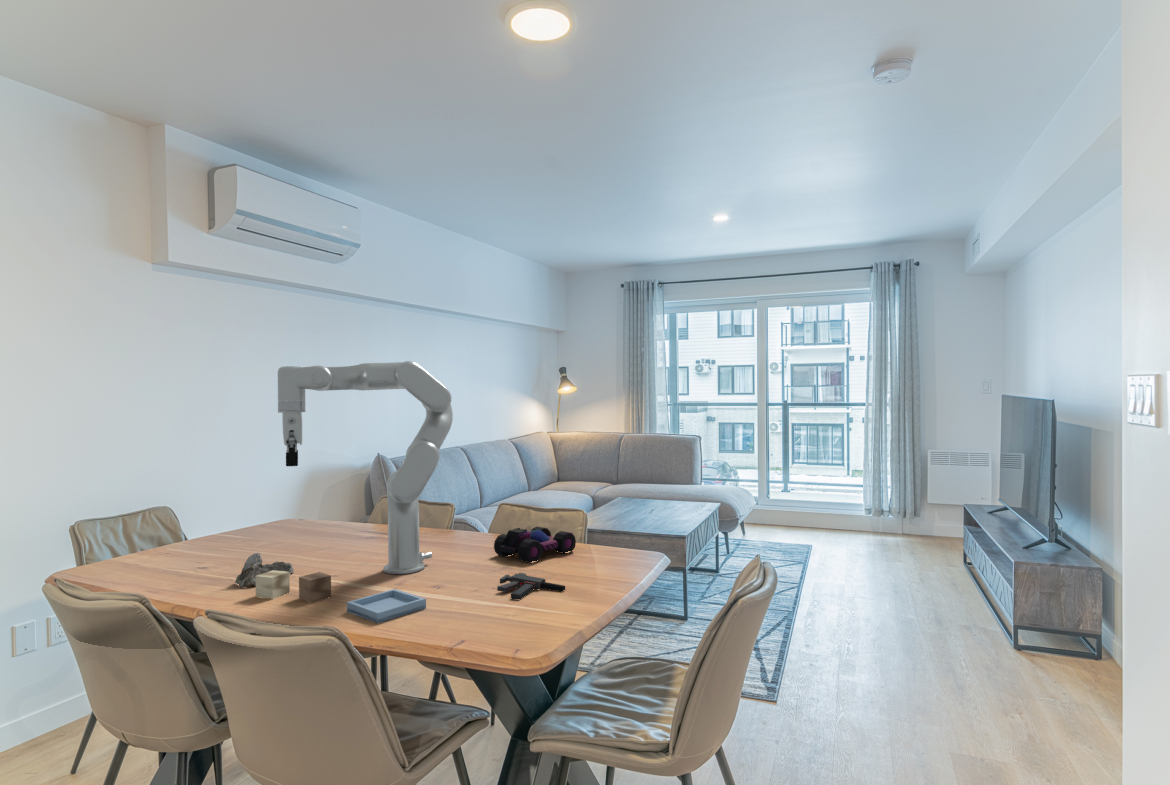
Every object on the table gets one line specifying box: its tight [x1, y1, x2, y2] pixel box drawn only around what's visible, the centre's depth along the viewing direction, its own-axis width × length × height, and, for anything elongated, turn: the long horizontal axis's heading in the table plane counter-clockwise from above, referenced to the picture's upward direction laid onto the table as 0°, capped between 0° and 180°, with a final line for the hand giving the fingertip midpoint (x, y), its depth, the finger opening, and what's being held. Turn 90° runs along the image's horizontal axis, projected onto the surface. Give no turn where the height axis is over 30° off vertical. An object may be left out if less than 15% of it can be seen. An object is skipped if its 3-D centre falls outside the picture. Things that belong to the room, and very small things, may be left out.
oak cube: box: [255, 570, 291, 600], centre depth 180 cm, size 6×6×6 cm
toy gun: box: [496, 572, 566, 600], centre depth 179 cm, size 3×19×15 cm
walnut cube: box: [298, 571, 332, 604], centre depth 176 cm, size 6×6×6 cm
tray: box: [346, 588, 427, 624], centre depth 165 cm, size 14×14×2 cm
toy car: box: [493, 525, 577, 563], centre depth 222 cm, size 17×25×10 cm, turn 137°
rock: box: [234, 552, 294, 588], centre depth 196 cm, size 18×11×10 cm, turn 150°
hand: (292, 464), depth 193 cm, fingers open, 9 cm apart
